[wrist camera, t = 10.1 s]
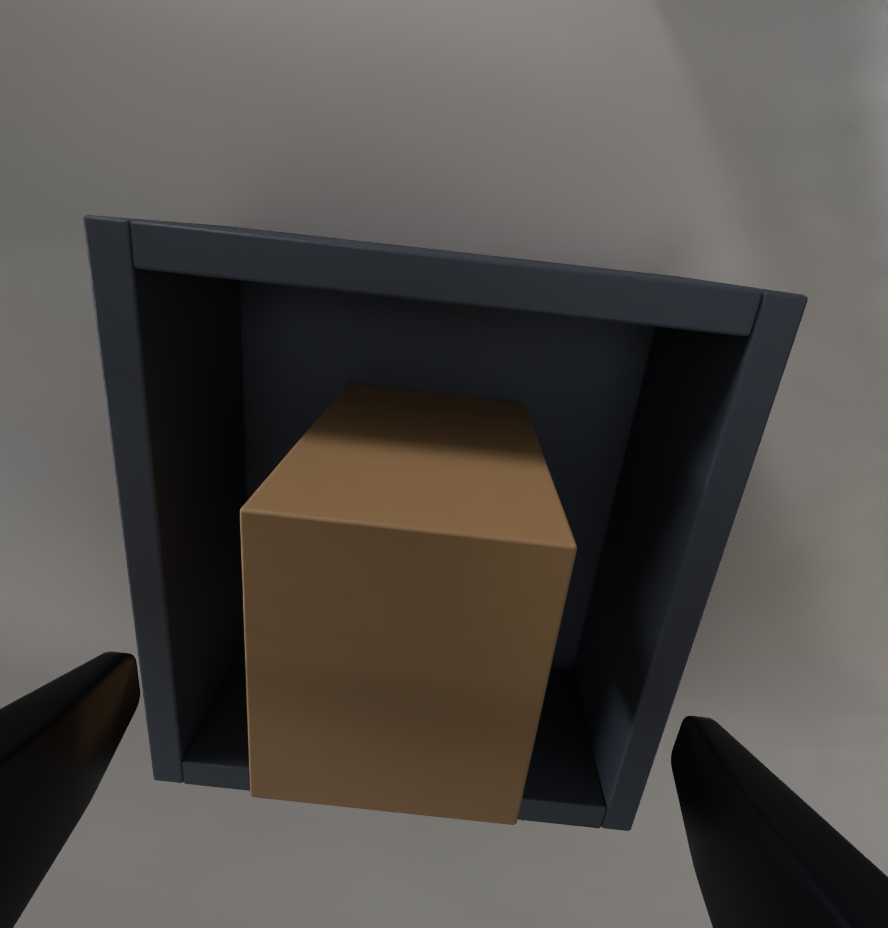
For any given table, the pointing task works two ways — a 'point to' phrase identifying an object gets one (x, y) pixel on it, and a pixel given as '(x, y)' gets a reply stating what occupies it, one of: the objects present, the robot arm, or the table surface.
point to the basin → (447, 372)
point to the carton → (403, 606)
